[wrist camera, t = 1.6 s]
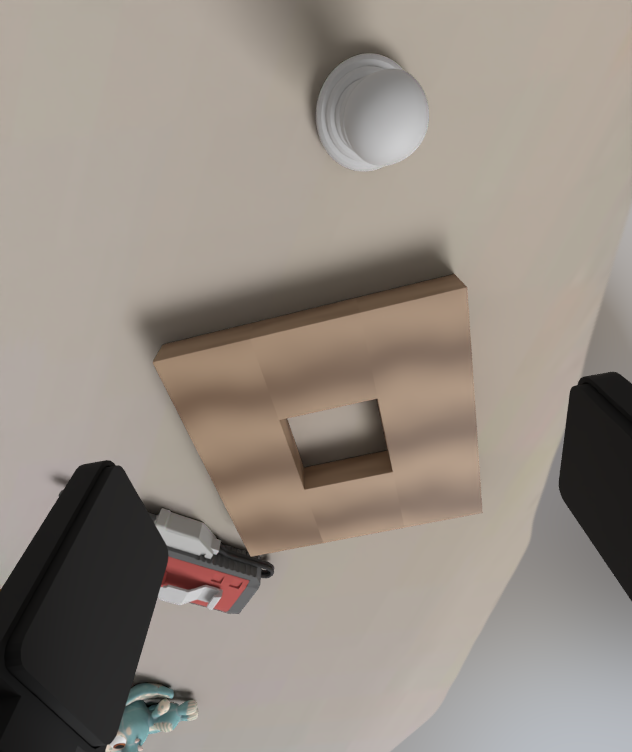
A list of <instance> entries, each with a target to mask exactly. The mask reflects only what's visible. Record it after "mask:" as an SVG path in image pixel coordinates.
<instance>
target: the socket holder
mask: <svg viewBox="0 0 632 752" xmlns="http://www.w3.org/2000/svg"><path fill="white" fill-rule="evenodd" d="M153 364H154V366H155V368H156V370H157V372H158V374H159V376H160V378H161V380H162V382H163V384H164V386H165V388H166V390H167V392H168V394H169V396H170V398H171V400H172V402H173V404H174V406H175V408H176V410H177V412H178V414H179V416H180V418H181V420H182V422H183V424H184V426H185V428H186V430H187V432H188V434H189V436H190V438H191V440H192V442H193V443H194V445H195V447H196V449H197V451H198V453H199V455H200V457H201V459H202V461H203V463H204V465H205V467H206V469H207V471H208V473H209V475H210V477H211V479H212V481H213V483H214V485H215V487H216V489H217V491H218V493H219V495H220V497H221V499H222V501H223V503H224V505H225V507H226V509H227V511H228V513H229V515H230V517H231V519H232V521H233V523H234V525H235V527H236V529H237V531H238V533H239V535H240V537H241V539H242V541H243V543H244V544H245V546H246V548H247V550H248V552H249V554H250V556H251V557H252V556H257V555H262V554H268V553H273V552H278V551H283V550H289V549H294V548H299V547H305V546H310V545H315V544H320V543H326V542H331V541H336V540H342V539H347V538H352V537H357V536H363V535H368V534H373V533H379V532H384V531H389V530H394V529H400V528H405V527H410V526H416V525H421V524H426V523H431V522H437V521H442V520H447V519H453V518H458V517H463V516H469V515H474V514H479V513H483V512H482V498H481V483H480V469H479V454H478V439H477V425H476V410H475V396H474V381H473V366H472V352H471V337H470V322H469V308H468V293H467V287H466V286H465V285H464V283H463V282H462V281H461V280H460V279H459V278H458V277H457V276H456V275H455V274H452V275H448V276H444V277H440V278H436V279H431V280H427V281H423V282H419V283H415V284H411V285H407V286H403V287H398V288H394V289H390V290H386V291H382V292H378V293H374V294H370V295H365V296H361V297H357V298H353V299H349V300H345V301H341V302H337V303H332V304H328V305H324V306H320V307H316V308H312V309H308V310H303V311H299V312H295V313H291V314H287V315H283V316H279V317H275V318H270V319H266V320H262V321H258V322H254V323H250V324H246V325H242V326H237V327H233V328H229V329H225V330H221V331H217V332H213V333H208V334H204V335H200V336H196V337H192V338H188V339H184V340H180V341H175V342H171V343H167V344H163V345H162V347H161V349H160V350H159V352H158V354H157V355H156V357H155V359H154V361H153ZM373 399H377V403H378V408H379V413H380V418H381V422H382V427H383V432H384V437H385V441H386V446H387V451H382V452H377V453H372V454H368V455H363V456H358V457H353V458H348V459H343V460H339V461H334V462H329V463H324V464H319V465H314V466H310V467H305V468H304V466H303V463H302V460H301V458H300V455H299V452H298V449H297V446H296V443H295V440H294V437H293V435H292V432H291V429H290V426H289V423H288V420H287V418H291V417H295V416H300V415H305V414H309V413H314V412H318V411H323V410H327V409H332V408H337V407H341V406H346V405H350V404H355V403H359V402H364V401H369V400H373Z"/></svg>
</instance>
